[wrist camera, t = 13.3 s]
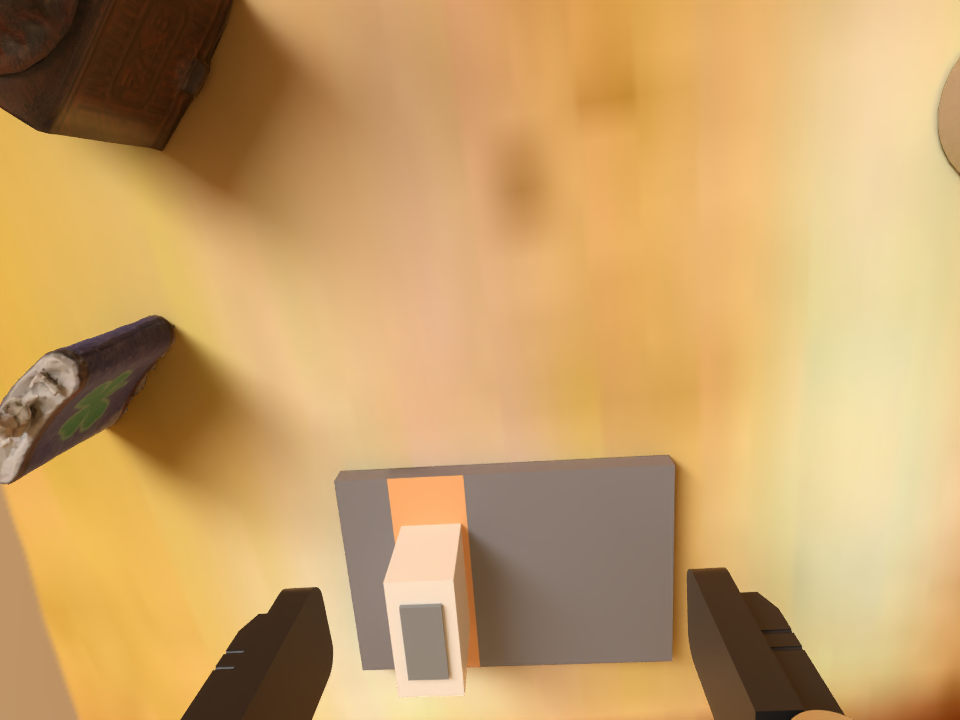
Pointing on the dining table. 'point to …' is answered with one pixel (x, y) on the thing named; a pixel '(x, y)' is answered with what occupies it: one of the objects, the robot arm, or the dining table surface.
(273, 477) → the dining table surface
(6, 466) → the flask
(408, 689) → the block
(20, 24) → the black coffee grinder
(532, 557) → the board
